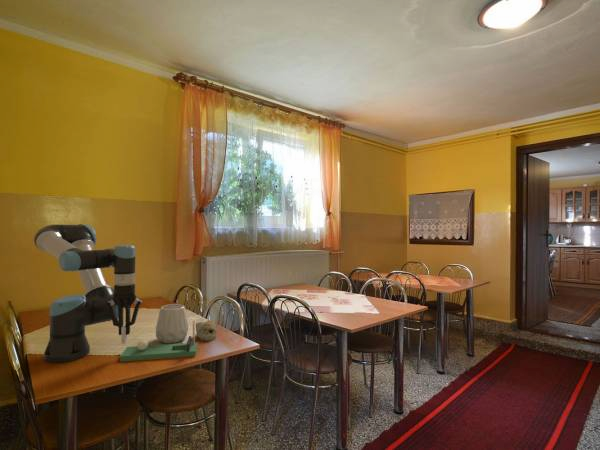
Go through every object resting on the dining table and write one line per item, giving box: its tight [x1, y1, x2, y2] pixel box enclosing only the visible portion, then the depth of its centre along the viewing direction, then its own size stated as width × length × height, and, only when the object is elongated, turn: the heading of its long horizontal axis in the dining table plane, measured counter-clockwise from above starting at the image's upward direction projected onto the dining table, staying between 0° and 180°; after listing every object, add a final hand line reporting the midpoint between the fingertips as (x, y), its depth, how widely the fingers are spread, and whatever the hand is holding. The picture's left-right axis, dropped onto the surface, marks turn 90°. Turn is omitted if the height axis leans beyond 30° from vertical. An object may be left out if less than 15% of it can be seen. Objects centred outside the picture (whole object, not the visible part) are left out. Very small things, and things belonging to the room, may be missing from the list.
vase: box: [155, 303, 189, 344], centre depth 155 cm, size 14×14×15 cm
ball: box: [136, 339, 149, 351], centre depth 137 cm, size 4×4×4 cm
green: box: [119, 320, 198, 362], centre depth 138 cm, size 28×10×12 cm, turn 103°
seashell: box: [195, 321, 217, 342], centre depth 159 cm, size 10×10×10 cm
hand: (124, 342), depth 135 cm, fingers closed
